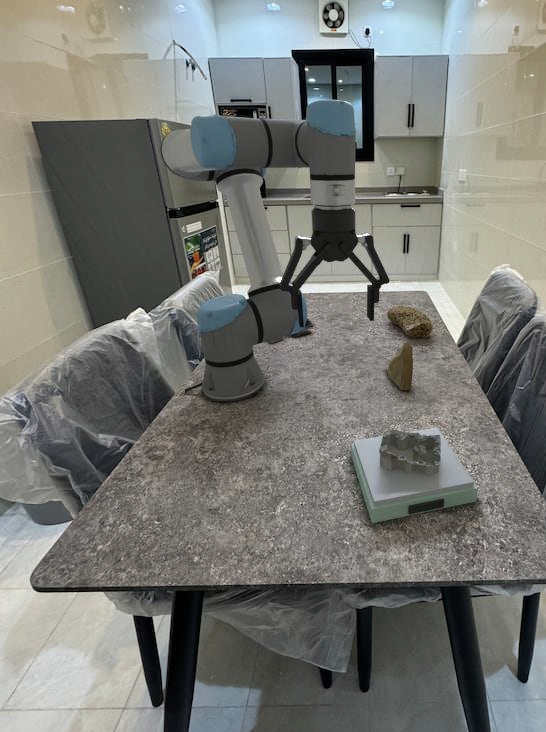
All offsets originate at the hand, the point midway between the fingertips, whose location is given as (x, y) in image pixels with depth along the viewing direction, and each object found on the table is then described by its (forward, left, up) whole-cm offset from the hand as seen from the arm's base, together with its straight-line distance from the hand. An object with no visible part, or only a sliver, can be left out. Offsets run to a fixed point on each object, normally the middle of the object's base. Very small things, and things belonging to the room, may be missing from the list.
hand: (336, 321), depth 74 cm
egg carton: (+9, -18, -20) cm, 29 cm away
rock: (+18, +15, -25) cm, 34 cm away
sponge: (+33, +48, -25) cm, 63 cm away
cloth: (-9, +58, -25) cm, 63 cm away
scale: (+9, -18, -24) cm, 32 cm away
